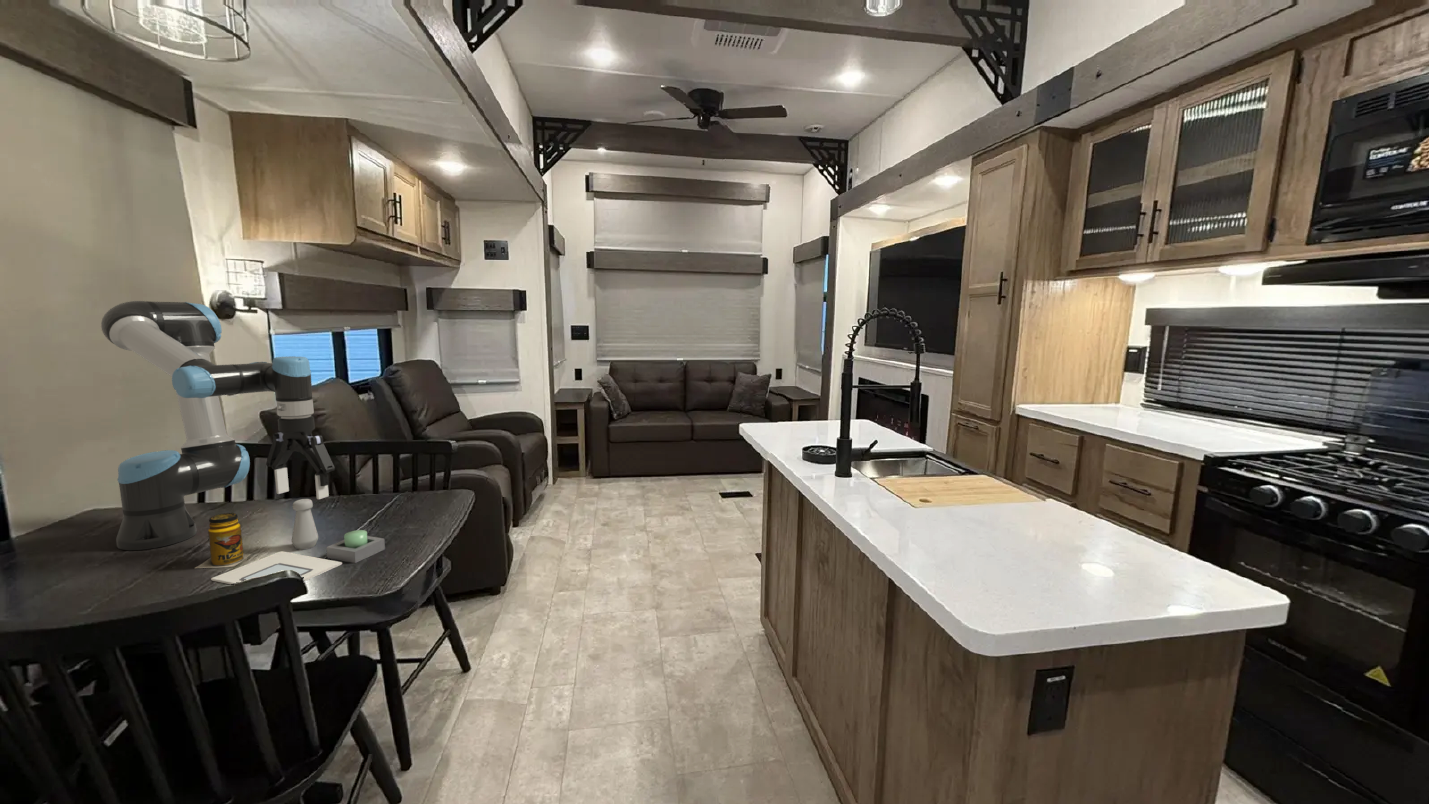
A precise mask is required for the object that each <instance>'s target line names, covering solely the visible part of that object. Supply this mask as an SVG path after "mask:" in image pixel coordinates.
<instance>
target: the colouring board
mask: <svg viewBox="0 0 1429 804" xmlns="http://www.w3.org/2000/svg"><path fill="white" fill-rule="evenodd" d="M341 565H343V561H339V560H333V559H331V560H330V559H328V558H327V559H325V558H319V557H314V556H310V555H309V556H308V555H303V554H299V553H292V552H288V551H282V550H281V551H278V552H276V553H272V554H271V555H268V556H265V557H263V558H259V559H257V560H254V561H252V562H249V563H247V564H245V565H242V566H239V567H236V568H234V569H231V570H229V571H225V572H224V573H221V574H219V575H216V576H213V577H211V578H210V579H211V581H213V582H216V583H217V582H218V583H221V584H228V585H231V584H233V583H236V582H241V581H244V580H246V579H250V578H252V577H260V576H263V575H268V574H272V573H276V572H278V571H281V570H294V571H296V572H298V573H299V574H300V575H301V576H302V577H304V580H305V581H304V582H306V581H308V580H311V579H313V578H315V577H318V576H319V575H321V574H323V573H326V572H328V571H330V570H333V569H334V568H337V567H339V566H341Z"/></svg>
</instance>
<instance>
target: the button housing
mask: <svg viewBox="0 0 1429 804" xmlns="http://www.w3.org/2000/svg"><path fill="white" fill-rule="evenodd" d="M367 542H368V543H367V544H365V545H363V546H360V547H358V548H356V549H354V548H348V547H345V541H344V539H343V540H339V541H338V542H336V543H332V544H331V545H328V546H326V556H327V557H326V558H327V559H329V560H330V559H331V560H334V561H340V562H346V563H353V564H357V563H359V562H361V561H363V560H365V559H367V558H369V557H371V556H374V555H376V554H378V553H380V552H382V551H385V550H386V545H385V544H386V543H385V538H382V537H377V536H369V535H367Z"/></svg>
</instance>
